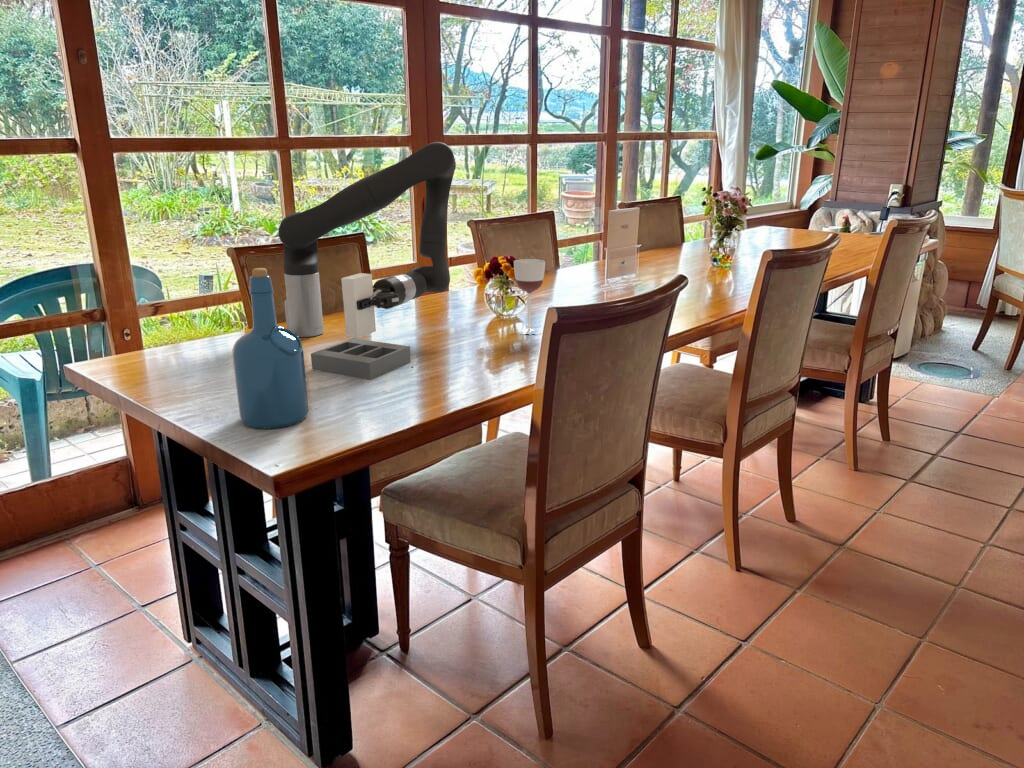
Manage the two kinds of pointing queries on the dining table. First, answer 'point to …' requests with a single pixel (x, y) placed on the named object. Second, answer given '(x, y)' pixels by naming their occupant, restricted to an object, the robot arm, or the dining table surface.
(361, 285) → the white box
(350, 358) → the rack
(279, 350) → the wine bottle
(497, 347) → the dining table surface
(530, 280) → the wineglass
